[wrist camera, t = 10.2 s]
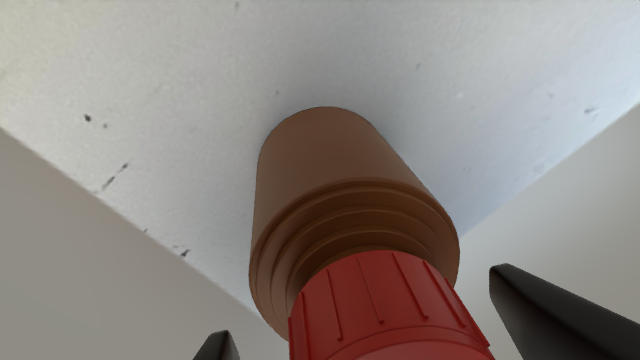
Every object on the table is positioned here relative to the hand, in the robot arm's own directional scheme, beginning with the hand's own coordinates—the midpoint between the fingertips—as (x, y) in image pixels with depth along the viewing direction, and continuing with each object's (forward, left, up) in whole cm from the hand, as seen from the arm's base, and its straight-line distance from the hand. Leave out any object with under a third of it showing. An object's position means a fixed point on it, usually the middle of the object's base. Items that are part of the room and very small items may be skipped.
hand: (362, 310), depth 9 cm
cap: (0, 0, +2) cm, 2 cm away
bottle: (0, 0, -9) cm, 9 cm away
